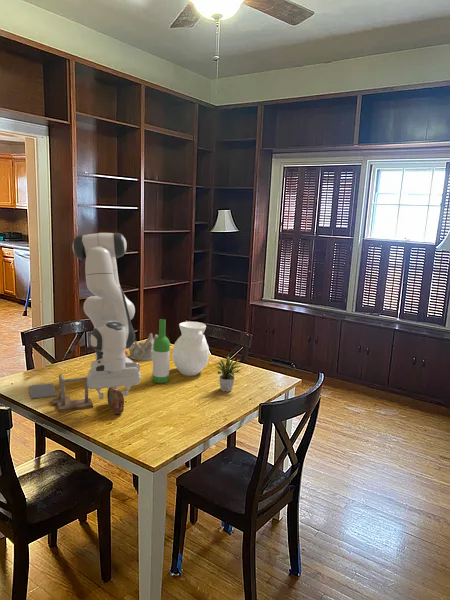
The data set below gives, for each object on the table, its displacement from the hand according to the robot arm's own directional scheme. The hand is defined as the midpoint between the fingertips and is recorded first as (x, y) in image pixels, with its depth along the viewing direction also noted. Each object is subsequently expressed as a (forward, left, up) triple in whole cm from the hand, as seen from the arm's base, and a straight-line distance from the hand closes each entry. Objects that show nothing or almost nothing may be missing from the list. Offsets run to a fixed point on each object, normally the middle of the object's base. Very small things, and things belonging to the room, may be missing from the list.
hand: (113, 397), depth 179 cm
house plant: (-52, -3, -6) cm, 53 cm away
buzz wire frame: (+14, -10, -6) cm, 18 cm away
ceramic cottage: (-32, -62, -6) cm, 71 cm away
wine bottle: (-28, -24, -6) cm, 38 cm away
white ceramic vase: (-46, -31, -6) cm, 56 cm away
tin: (-1, 0, -6) cm, 6 cm away
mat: (+24, -28, -6) cm, 38 cm away
